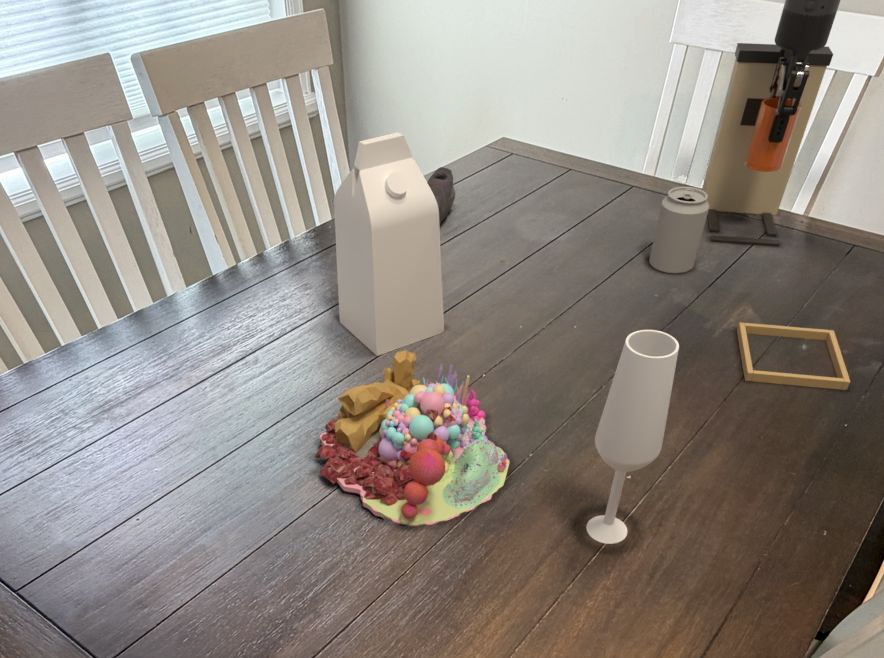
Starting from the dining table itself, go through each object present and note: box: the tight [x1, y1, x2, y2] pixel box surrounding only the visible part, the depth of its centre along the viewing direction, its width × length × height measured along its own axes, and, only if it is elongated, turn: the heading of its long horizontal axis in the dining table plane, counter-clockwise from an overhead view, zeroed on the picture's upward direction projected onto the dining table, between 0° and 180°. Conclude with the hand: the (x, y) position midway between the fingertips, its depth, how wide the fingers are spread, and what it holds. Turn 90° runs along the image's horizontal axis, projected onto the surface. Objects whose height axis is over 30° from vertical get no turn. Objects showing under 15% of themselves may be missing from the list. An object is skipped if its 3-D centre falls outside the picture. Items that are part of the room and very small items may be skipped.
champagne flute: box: [586, 329, 680, 545], centre depth 75 cm, size 7×7×24 cm
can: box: [648, 186, 709, 274], centre depth 121 cm, size 8×8×12 cm
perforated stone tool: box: [427, 166, 456, 225], centre depth 135 cm, size 15×5×7 cm, turn 164°
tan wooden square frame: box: [736, 321, 851, 391], centre depth 105 cm, size 14×14×2 cm
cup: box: [745, 98, 801, 172], centre depth 121 cm, size 6×6×9 cm
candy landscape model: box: [314, 349, 511, 527], centre depth 90 cm, size 25×24×9 cm
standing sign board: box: [701, 42, 834, 248], centre depth 125 cm, size 15×18×26 cm
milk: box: [333, 132, 445, 357], centre depth 103 cm, size 12×12×26 cm
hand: (772, 134), depth 121 cm, fingers closed on cup, 6 cm apart
